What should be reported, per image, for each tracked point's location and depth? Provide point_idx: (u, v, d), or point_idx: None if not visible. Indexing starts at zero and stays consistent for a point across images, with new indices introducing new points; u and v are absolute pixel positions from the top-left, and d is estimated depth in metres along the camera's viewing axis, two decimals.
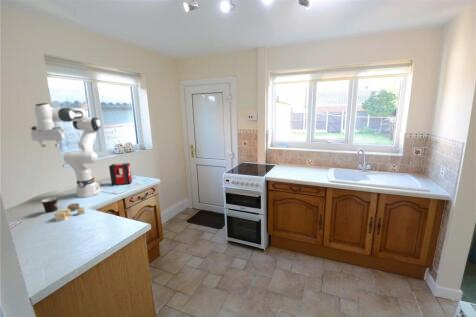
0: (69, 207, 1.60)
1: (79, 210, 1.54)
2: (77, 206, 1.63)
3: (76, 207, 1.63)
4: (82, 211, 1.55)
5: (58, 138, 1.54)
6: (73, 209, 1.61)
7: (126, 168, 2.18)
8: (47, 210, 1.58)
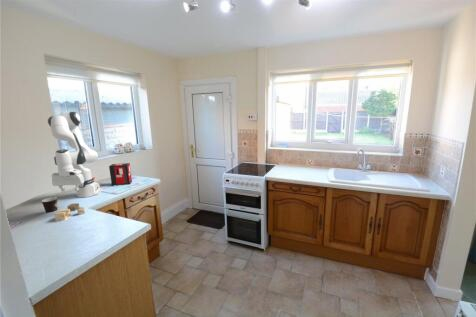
0: (69, 207, 1.60)
1: (79, 210, 1.54)
2: (77, 206, 1.63)
3: (76, 207, 1.63)
4: (82, 211, 1.55)
5: None
6: (73, 209, 1.61)
7: (126, 168, 2.18)
8: (47, 210, 1.58)
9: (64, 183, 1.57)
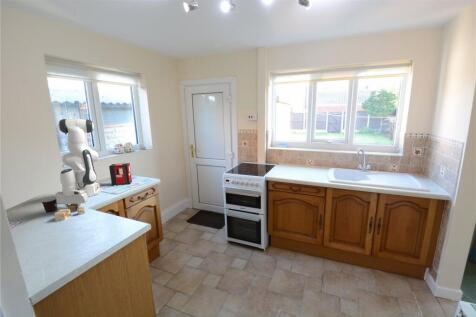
0: (69, 207, 1.60)
1: (79, 210, 1.54)
2: None
3: None
4: (82, 211, 1.55)
5: None
6: (73, 209, 1.61)
7: (126, 168, 2.18)
8: (47, 210, 1.58)
9: (68, 202, 1.60)
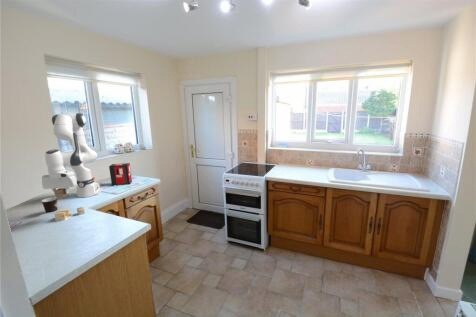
0: (56, 191, 1.47)
1: (79, 210, 1.54)
2: None
3: None
4: (82, 211, 1.55)
5: None
6: (61, 193, 1.47)
7: (126, 168, 2.18)
8: (47, 210, 1.58)
9: (55, 186, 1.47)
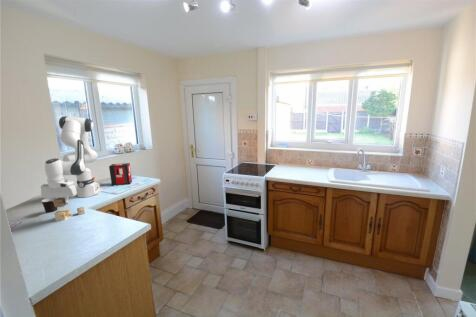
0: (55, 201, 1.45)
1: (79, 210, 1.54)
2: (64, 200, 1.48)
3: (63, 201, 1.47)
4: (82, 211, 1.55)
5: None
6: (60, 203, 1.45)
7: (126, 168, 2.18)
8: (47, 210, 1.58)
9: (54, 195, 1.45)
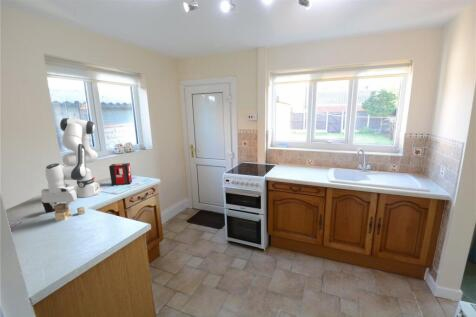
0: (56, 207, 1.45)
1: (80, 210, 1.54)
2: (65, 206, 1.49)
3: (64, 207, 1.48)
4: (83, 211, 1.56)
5: None
6: (61, 209, 1.46)
7: (126, 168, 2.18)
8: (47, 210, 1.58)
9: (55, 200, 1.45)
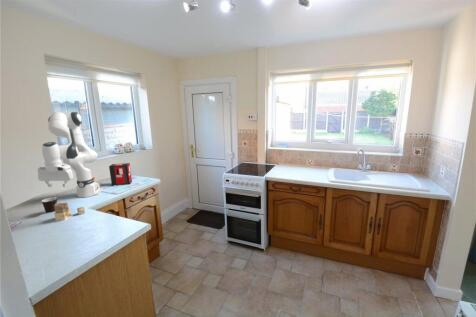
0: (56, 207, 1.45)
1: (80, 210, 1.54)
2: (65, 206, 1.49)
3: (64, 207, 1.48)
4: (83, 211, 1.56)
5: None
6: (61, 209, 1.46)
7: (126, 168, 2.18)
8: (47, 210, 1.58)
9: (51, 178, 1.46)
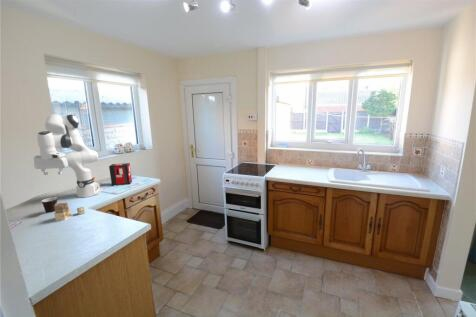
0: (56, 207, 1.45)
1: (80, 209, 1.54)
2: (65, 206, 1.49)
3: (64, 207, 1.48)
4: (83, 210, 1.56)
5: None
6: (61, 209, 1.46)
7: (126, 168, 2.18)
8: (47, 210, 1.58)
9: (47, 166, 1.52)
